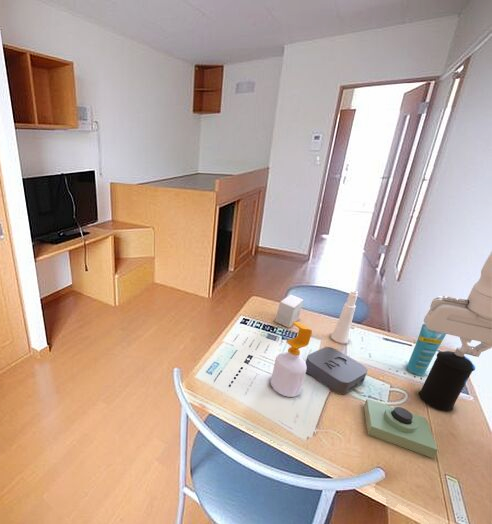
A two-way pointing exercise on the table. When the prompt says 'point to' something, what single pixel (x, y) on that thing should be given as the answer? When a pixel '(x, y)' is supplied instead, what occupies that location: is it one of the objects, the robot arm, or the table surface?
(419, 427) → the button block
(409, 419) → the dark grey button
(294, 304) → the cosmetics box
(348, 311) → the cosmetic bottle
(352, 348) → the table surface
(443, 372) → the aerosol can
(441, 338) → the tube
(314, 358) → the streaming box
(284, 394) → the soap bottle
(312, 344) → the table surface
